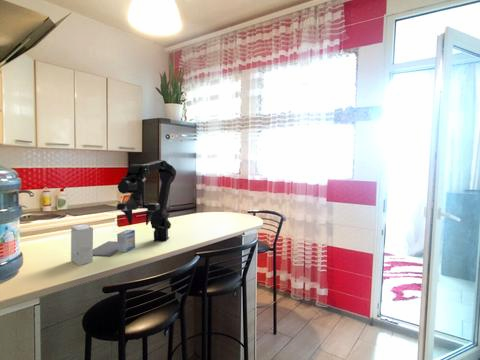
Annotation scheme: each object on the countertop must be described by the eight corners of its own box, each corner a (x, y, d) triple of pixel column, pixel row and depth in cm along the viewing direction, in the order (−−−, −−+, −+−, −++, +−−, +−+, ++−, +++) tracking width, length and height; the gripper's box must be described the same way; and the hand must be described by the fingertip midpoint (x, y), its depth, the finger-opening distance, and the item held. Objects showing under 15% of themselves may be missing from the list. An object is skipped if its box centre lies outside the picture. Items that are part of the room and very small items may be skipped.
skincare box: (70, 261, 119) (69, 226, 118) (86, 257, 124) (84, 223, 123) (78, 266, 114) (77, 229, 113) (94, 261, 118) (93, 226, 117)
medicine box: (126, 252, 130) (125, 233, 130) (117, 251, 131) (116, 233, 131) (135, 247, 138) (135, 229, 138) (127, 246, 139) (126, 229, 138)
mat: (131, 243, 145) (131, 242, 145) (109, 256, 125) (109, 255, 125) (108, 242, 146) (108, 241, 146) (83, 255, 126) (83, 254, 126)
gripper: (109, 192, 125) (110, 227, 126) (150, 193, 124) (151, 229, 124) (122, 190, 136) (123, 222, 137) (160, 191, 135) (160, 223, 136)
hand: (138, 224), depth 133 cm, fingers open, 8 cm apart
